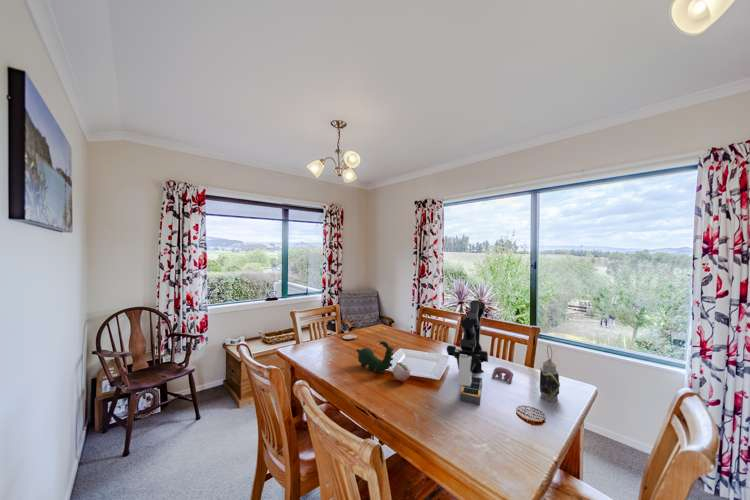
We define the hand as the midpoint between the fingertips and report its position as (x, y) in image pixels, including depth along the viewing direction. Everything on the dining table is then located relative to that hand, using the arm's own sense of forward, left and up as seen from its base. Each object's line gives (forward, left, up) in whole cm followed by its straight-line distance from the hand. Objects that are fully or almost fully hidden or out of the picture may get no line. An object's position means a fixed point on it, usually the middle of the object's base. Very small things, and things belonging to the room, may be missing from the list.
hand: (464, 370), depth 131 cm
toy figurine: (-43, -32, -14) cm, 55 cm away
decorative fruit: (-25, -22, -14) cm, 36 cm away
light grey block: (-1, +1, -7) cm, 7 cm away
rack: (-4, +7, -13) cm, 16 cm away
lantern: (+10, +39, -14) cm, 43 cm away
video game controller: (-12, +31, -14) cm, 36 cm away
